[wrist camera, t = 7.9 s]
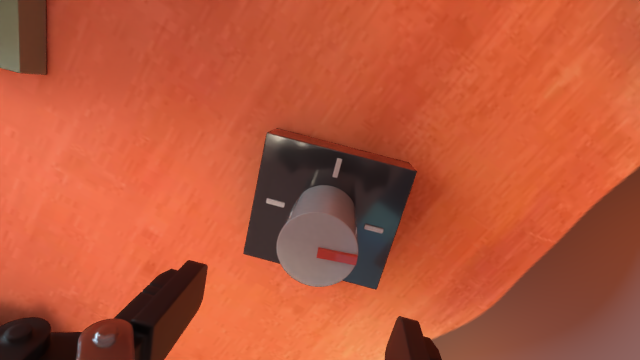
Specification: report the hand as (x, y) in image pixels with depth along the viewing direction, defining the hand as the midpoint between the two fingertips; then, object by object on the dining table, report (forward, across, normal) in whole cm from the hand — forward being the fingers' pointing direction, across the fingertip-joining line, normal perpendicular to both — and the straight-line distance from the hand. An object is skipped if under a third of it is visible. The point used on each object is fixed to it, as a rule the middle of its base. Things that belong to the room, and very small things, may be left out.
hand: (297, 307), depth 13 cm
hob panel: (+14, 0, 0) cm, 14 cm away
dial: (+11, 0, 0) cm, 11 cm away
